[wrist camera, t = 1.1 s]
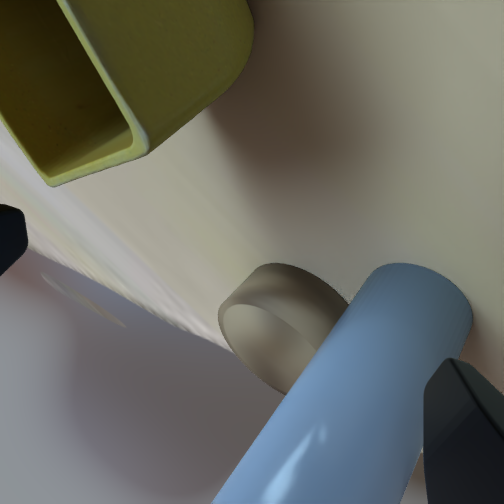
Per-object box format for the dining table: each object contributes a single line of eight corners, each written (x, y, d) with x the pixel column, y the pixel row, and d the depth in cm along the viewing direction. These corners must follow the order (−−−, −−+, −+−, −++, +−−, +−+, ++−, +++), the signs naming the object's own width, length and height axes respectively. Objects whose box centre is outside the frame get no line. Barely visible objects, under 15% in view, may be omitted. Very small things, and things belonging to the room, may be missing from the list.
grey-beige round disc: (361, 286, 22) (330, 330, 20) (366, 383, 27) (342, 426, 25) (236, 249, 27) (202, 281, 25) (261, 337, 33) (234, 369, 31)
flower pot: (312, 60, 16) (149, 157, 11) (187, 113, 23) (45, 191, 17) (216, -220, 13) (-88, -268, 8) (99, -65, 19) (-111, -33, 14)
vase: (480, 280, 18) (340, 608, 10) (465, 358, 21) (351, 652, 13) (363, 252, 21) (188, 485, 13) (366, 323, 24) (227, 544, 16)
